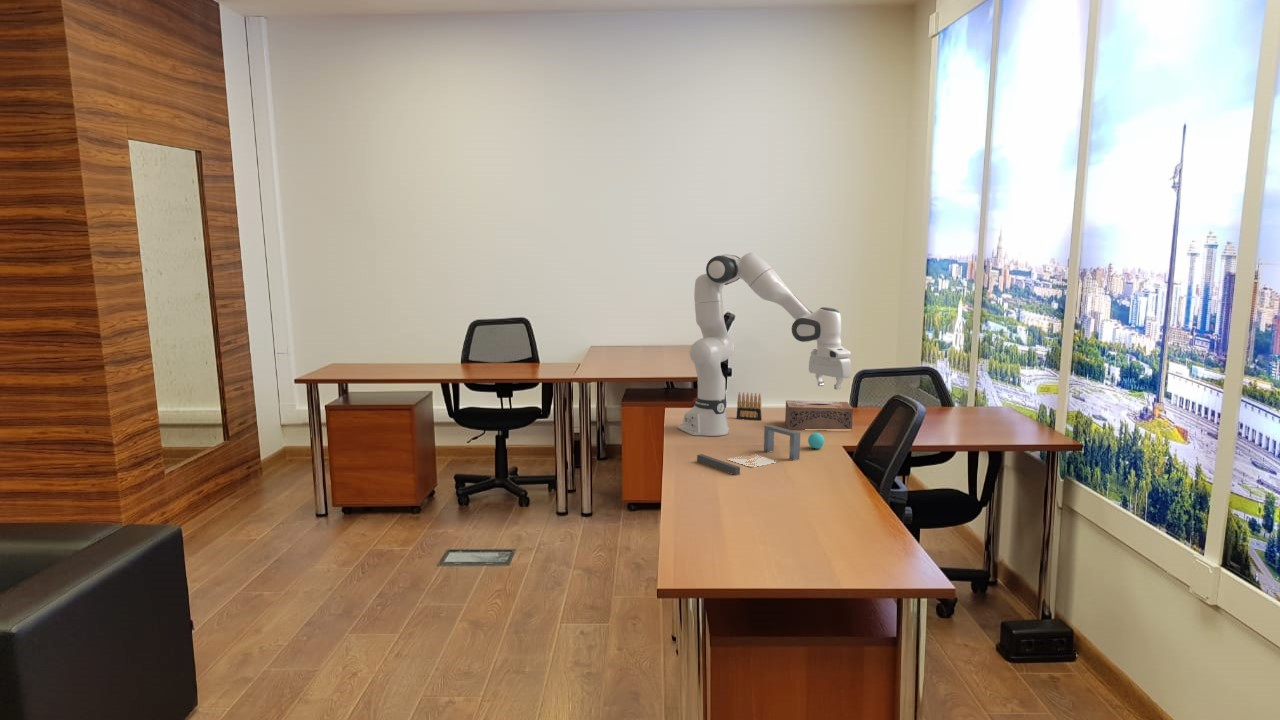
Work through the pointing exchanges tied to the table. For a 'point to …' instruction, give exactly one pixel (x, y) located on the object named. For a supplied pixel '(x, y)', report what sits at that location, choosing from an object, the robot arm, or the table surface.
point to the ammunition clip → (747, 411)
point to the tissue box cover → (818, 415)
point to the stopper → (718, 464)
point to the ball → (816, 440)
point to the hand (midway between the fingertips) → (828, 387)
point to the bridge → (793, 435)
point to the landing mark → (759, 462)
